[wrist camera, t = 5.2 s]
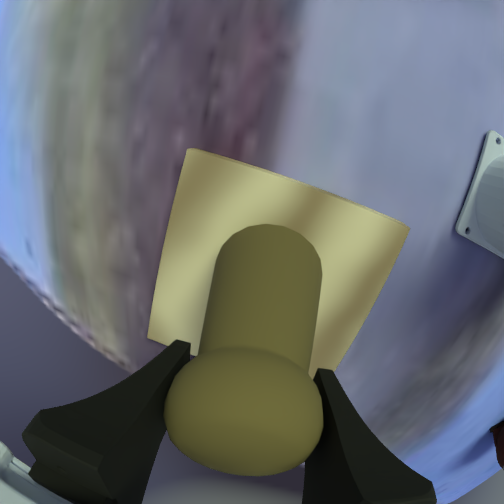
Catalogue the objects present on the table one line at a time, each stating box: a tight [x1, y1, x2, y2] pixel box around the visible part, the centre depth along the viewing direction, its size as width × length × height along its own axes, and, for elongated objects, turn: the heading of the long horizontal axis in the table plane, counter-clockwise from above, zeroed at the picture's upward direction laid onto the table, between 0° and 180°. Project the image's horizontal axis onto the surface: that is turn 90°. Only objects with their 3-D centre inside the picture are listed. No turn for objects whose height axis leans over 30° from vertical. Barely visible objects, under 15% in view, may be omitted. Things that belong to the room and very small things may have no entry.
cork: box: [163, 224, 323, 476], centre depth 12 cm, size 6×6×11 cm
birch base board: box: [147, 148, 410, 380], centre depth 20 cm, size 14×14×2 cm
